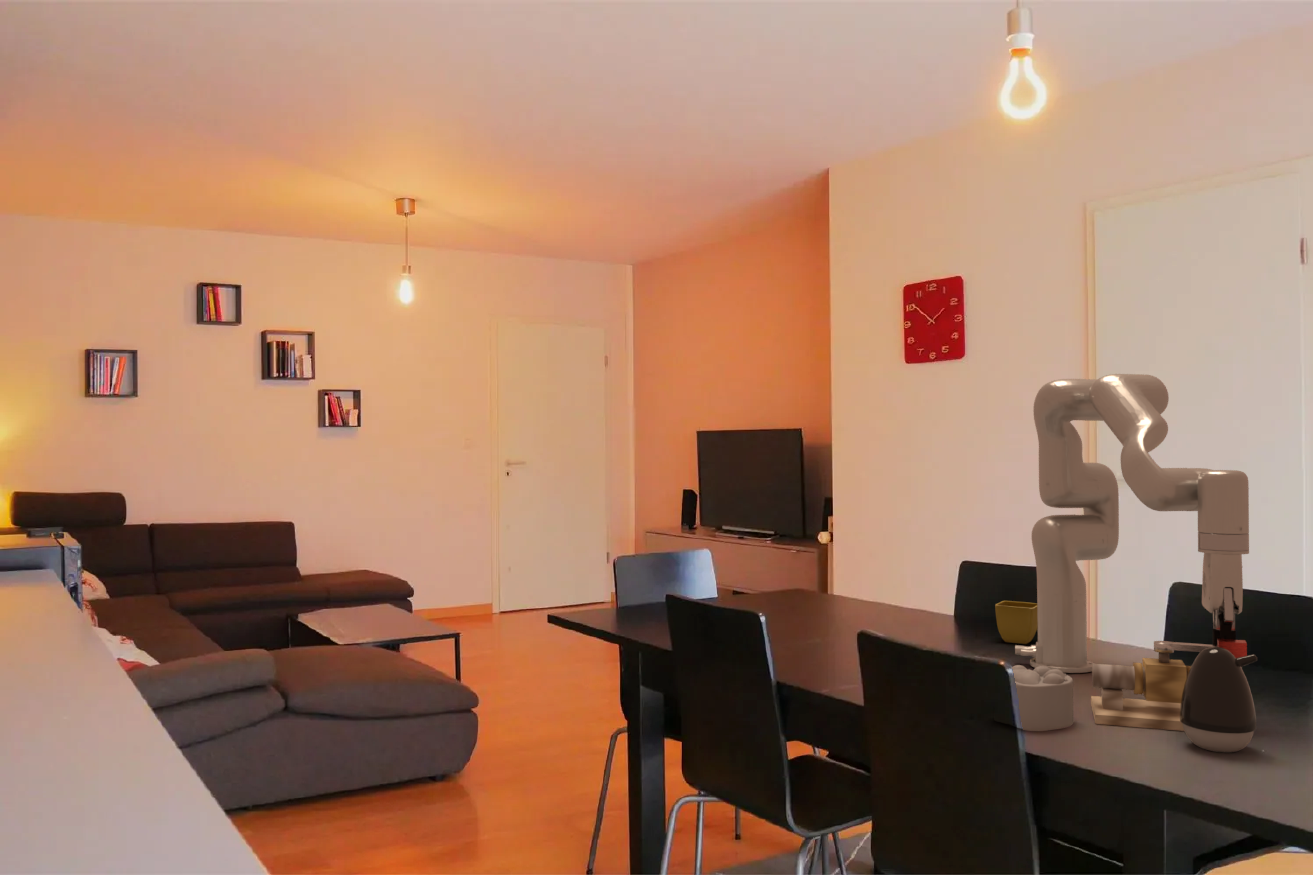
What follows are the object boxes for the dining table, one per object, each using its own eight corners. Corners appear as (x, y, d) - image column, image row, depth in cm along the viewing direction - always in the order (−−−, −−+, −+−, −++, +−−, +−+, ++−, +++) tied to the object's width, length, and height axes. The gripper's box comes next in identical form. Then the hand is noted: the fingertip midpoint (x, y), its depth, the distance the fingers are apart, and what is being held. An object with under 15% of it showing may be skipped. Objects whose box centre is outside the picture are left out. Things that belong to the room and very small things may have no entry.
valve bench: (1095, 723, 170) (1094, 656, 170) (1091, 704, 183) (1090, 641, 183) (1247, 735, 162) (1246, 665, 162) (1231, 714, 175) (1230, 649, 176)
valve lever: (1154, 652, 172) (1153, 637, 172) (1153, 649, 175) (1153, 634, 175) (1247, 658, 166) (1246, 643, 166) (1245, 655, 169) (1245, 640, 169)
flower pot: (1041, 641, 245) (1041, 603, 245) (1033, 646, 238) (1033, 607, 238) (1003, 637, 250) (1003, 600, 250) (994, 643, 242) (994, 604, 243)
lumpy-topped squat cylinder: (984, 718, 174) (984, 666, 174) (1041, 709, 179) (1040, 659, 180) (1032, 733, 164) (1032, 678, 164) (1090, 723, 170) (1090, 671, 170)
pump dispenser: (1263, 760, 149) (1262, 655, 149) (1182, 752, 153) (1181, 650, 153) (1253, 742, 159) (1252, 643, 159) (1177, 735, 163) (1176, 638, 163)
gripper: (1192, 539, 181) (1192, 644, 181) (1204, 546, 167) (1205, 660, 167) (1240, 540, 178) (1241, 647, 178) (1257, 548, 164) (1258, 663, 164)
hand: (1224, 653), depth 173 cm, fingers closed
